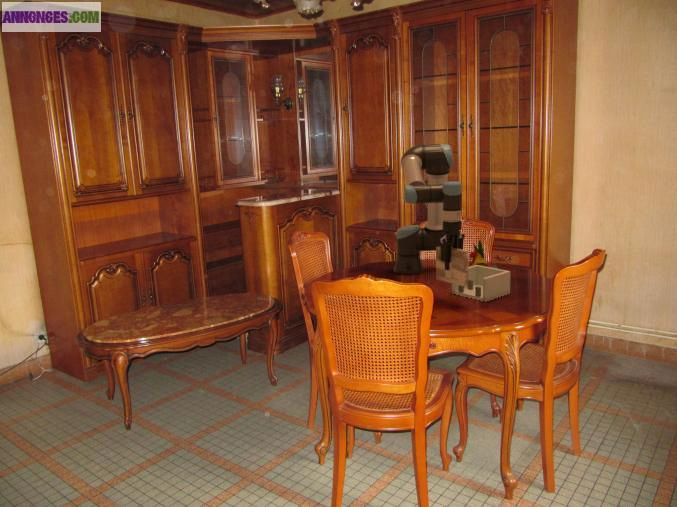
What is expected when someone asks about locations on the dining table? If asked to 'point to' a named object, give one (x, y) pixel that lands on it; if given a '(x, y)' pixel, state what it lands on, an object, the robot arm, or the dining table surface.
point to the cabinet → (484, 283)
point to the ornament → (478, 256)
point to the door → (453, 267)
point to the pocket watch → (494, 265)
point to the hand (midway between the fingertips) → (451, 276)
